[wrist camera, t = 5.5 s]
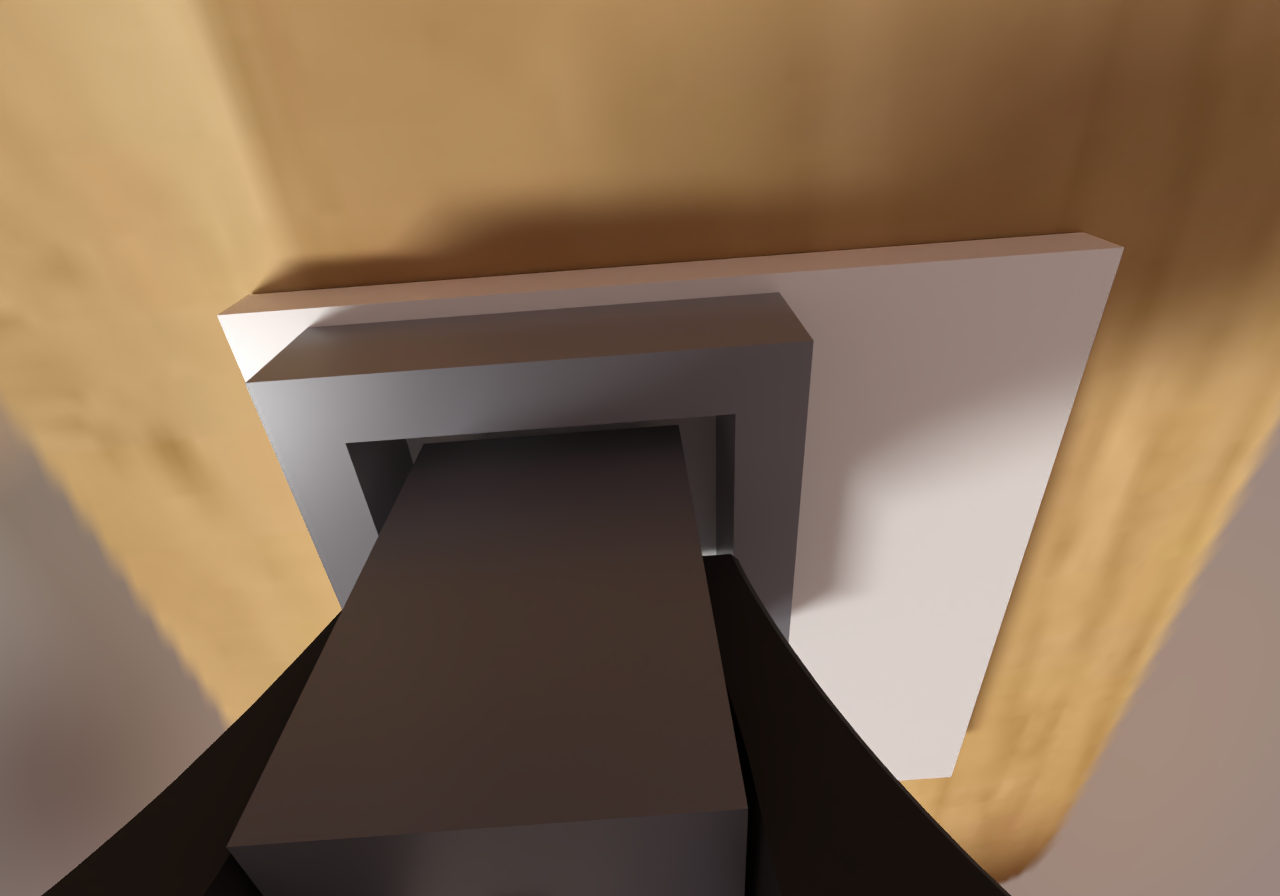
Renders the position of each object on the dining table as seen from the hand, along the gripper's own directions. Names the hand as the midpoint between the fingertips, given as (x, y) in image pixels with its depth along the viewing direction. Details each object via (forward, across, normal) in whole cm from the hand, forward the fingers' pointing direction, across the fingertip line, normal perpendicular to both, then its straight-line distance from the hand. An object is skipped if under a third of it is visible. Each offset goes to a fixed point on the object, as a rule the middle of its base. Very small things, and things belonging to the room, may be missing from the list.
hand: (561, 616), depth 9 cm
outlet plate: (+4, -2, +3) cm, 5 cm away
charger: (+2, 0, 0) cm, 2 cm away
